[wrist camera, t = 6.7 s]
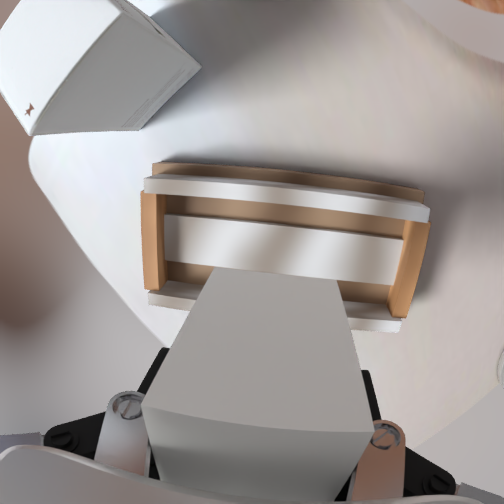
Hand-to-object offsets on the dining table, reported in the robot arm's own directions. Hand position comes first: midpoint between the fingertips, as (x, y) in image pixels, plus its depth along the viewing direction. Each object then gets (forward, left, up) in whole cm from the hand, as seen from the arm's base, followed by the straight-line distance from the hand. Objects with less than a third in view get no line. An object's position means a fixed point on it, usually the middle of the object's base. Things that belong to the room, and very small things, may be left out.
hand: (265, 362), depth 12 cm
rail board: (0, 0, -14) cm, 14 cm away
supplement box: (+12, -13, -15) cm, 23 cm away
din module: (0, 0, -1) cm, 1 cm away
